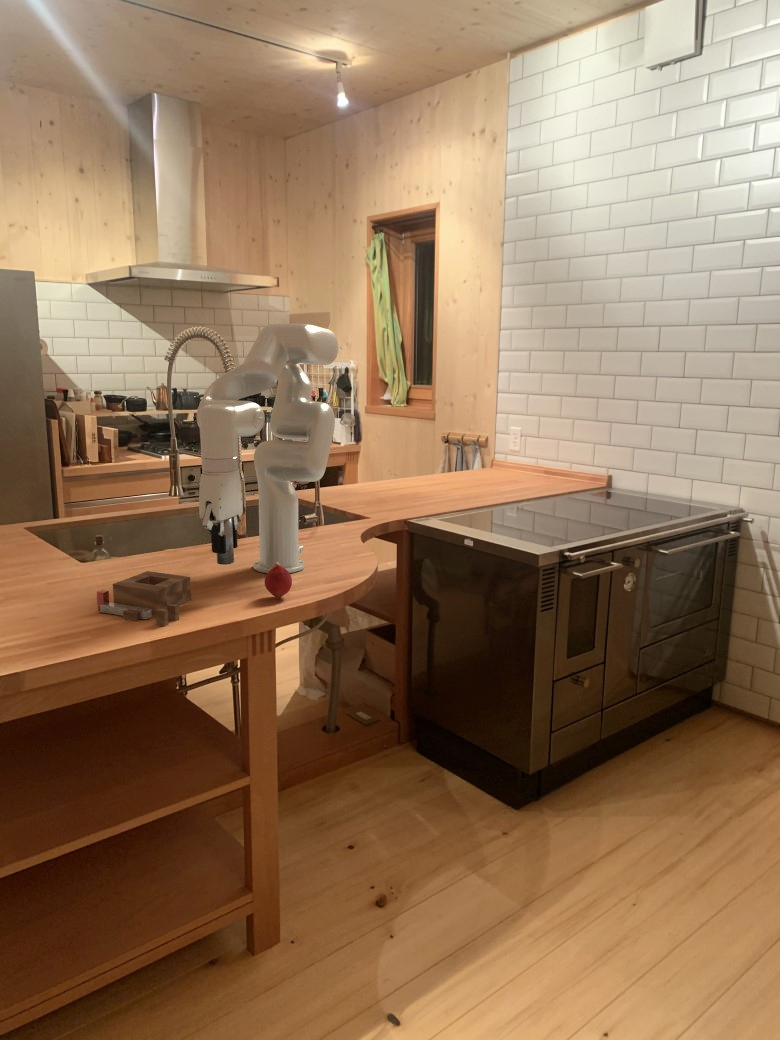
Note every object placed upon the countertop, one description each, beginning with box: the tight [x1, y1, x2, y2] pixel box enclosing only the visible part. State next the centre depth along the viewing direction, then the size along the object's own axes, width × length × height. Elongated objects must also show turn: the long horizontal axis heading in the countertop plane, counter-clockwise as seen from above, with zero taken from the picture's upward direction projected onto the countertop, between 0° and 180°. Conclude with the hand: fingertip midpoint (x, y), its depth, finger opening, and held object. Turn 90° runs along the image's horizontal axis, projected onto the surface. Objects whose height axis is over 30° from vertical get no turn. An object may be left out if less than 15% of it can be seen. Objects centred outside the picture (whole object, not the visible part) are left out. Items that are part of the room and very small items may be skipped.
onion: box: [264, 562, 293, 599], centre depth 166 cm, size 6×6×8 cm
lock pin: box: [96, 589, 153, 620], centre depth 153 cm, size 2×12×4 cm, turn 69°
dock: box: [112, 570, 192, 627], centre depth 158 cm, size 16×16×5 cm
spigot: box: [214, 517, 235, 565], centre depth 163 cm, size 4×4×10 cm
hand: (224, 549), depth 164 cm, fingers closed on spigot, 3 cm apart
